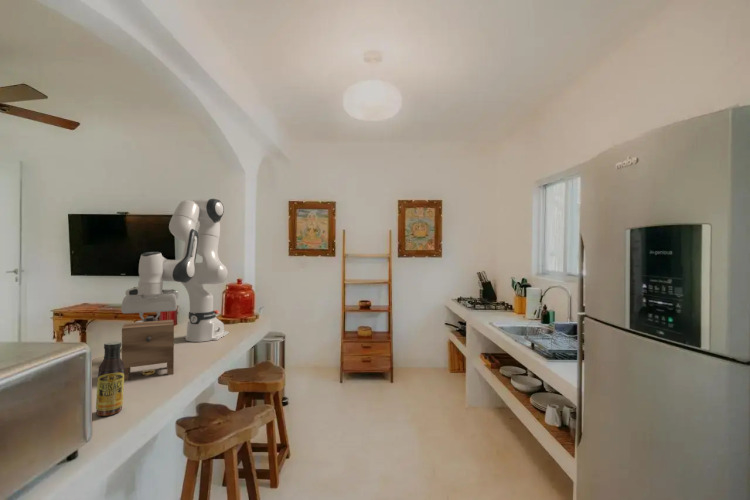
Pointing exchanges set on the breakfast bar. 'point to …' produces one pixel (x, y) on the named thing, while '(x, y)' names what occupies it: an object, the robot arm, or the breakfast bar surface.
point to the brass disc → (148, 372)
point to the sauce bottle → (110, 381)
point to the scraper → (149, 318)
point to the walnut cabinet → (148, 345)
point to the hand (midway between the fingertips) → (149, 322)
